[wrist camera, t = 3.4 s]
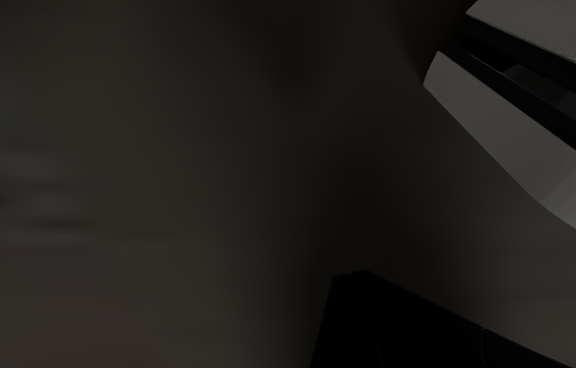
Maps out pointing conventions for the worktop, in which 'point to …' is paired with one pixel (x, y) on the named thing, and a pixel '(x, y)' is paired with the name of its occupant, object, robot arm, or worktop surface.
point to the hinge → (520, 95)
